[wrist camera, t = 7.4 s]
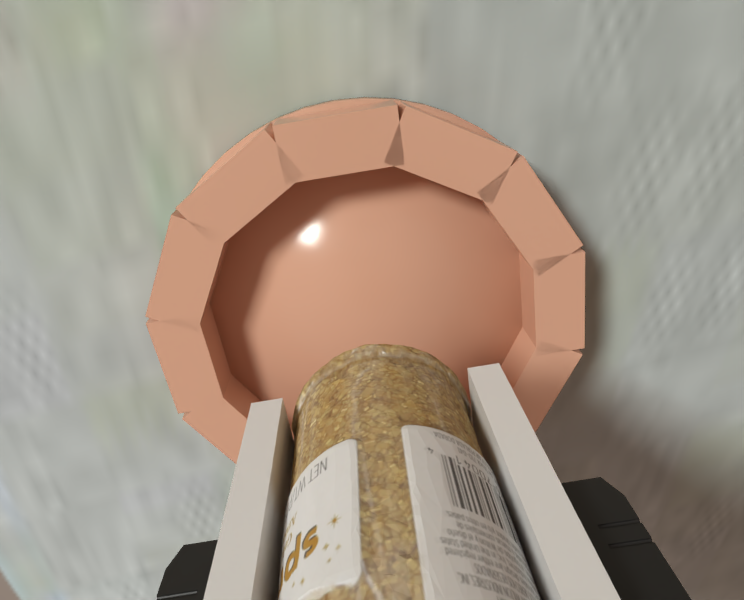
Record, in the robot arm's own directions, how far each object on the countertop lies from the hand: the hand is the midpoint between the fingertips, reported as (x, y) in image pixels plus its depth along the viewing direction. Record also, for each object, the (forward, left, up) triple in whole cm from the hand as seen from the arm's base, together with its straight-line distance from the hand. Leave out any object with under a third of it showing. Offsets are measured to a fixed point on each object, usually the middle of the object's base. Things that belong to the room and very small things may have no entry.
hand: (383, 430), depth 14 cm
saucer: (0, 0, -7) cm, 7 cm away
